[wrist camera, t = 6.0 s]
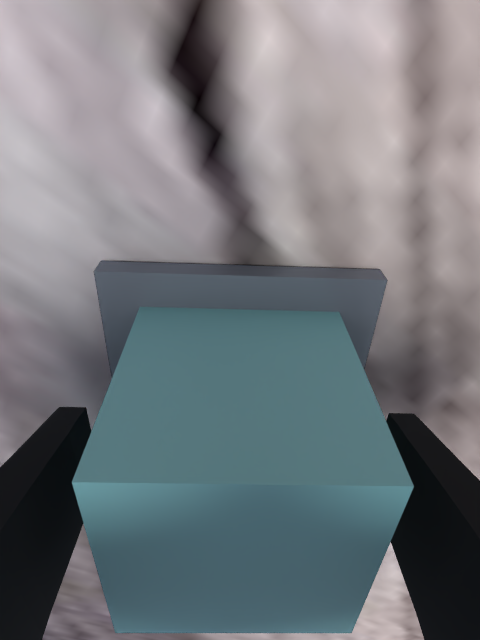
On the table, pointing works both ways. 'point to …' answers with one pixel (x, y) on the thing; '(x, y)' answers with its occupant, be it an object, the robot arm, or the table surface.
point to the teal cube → (239, 475)
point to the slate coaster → (236, 294)
